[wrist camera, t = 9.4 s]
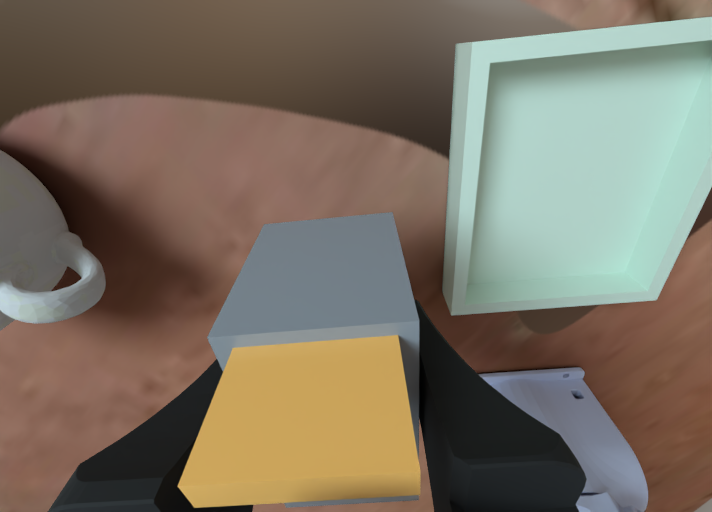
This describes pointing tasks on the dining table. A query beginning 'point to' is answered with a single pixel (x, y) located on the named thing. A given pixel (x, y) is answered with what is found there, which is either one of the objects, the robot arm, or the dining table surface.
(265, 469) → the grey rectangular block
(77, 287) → the teacup
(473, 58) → the tray
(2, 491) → the dining table surface
